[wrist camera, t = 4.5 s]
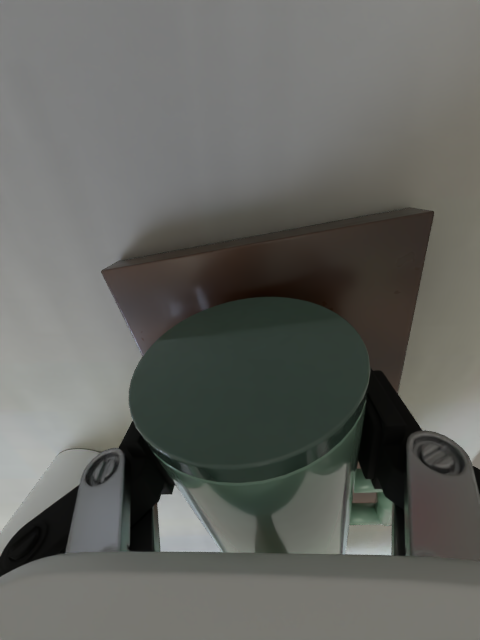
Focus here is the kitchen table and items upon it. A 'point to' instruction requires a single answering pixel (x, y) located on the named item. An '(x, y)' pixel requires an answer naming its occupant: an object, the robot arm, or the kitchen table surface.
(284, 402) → the jug
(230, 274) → the serving board
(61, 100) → the kitchen table surface
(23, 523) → the cylindrical container
